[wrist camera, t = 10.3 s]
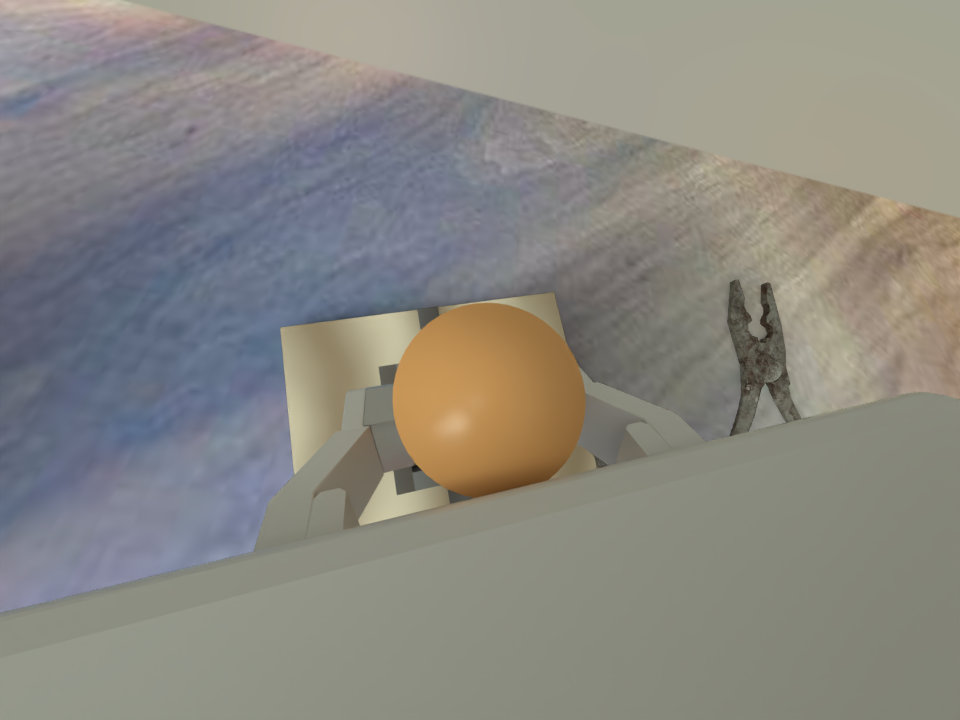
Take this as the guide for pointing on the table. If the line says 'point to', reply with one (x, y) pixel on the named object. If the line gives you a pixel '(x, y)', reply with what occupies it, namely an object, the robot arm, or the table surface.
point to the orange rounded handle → (488, 399)
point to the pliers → (759, 358)
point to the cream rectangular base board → (373, 362)
